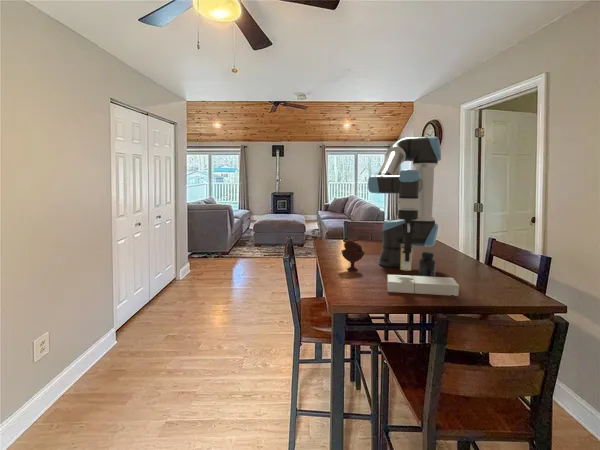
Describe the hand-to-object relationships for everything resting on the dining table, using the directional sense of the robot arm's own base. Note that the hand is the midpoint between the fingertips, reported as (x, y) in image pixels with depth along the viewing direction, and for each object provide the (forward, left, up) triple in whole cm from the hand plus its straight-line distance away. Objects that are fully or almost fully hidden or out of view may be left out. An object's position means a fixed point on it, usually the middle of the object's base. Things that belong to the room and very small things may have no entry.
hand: (406, 267), depth 150 cm
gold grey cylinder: (0, 0, -1) cm, 1 cm away
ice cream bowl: (-28, -23, -9) cm, 37 cm away
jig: (0, +6, -9) cm, 10 cm away
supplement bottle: (-16, +10, -9) cm, 21 cm away
